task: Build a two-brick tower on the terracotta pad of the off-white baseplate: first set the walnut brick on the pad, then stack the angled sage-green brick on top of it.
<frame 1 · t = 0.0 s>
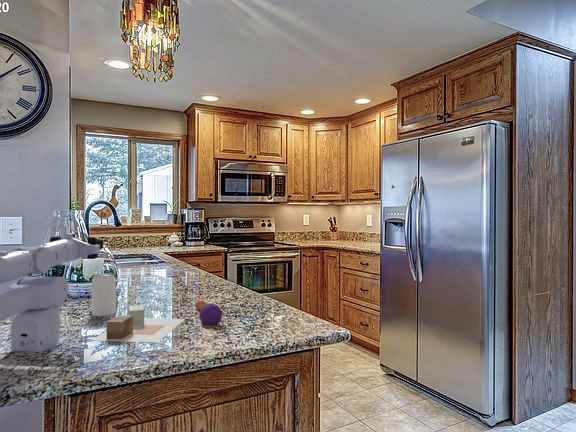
hand: (88, 243, 111), 22 cm above the counter, tool horizontal, fingers open, 7 cm apart
baseplate: (142, 331, 103), on the counter
kendama: (206, 320, 116), on the counter
walnut brick: (120, 335, 98), point 1 cm above the counter, touching baseplate
can: (103, 316, 119), on the counter
sage brick: (136, 322, 109), point 1 cm above the counter, touching baseplate
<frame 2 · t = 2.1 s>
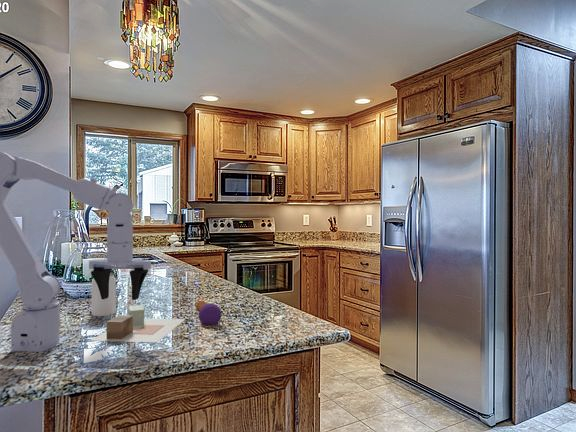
hand: (120, 298, 98), 9 cm above the counter, tool pointing down, fingers open, 7 cm apart
nothing on the counter moved.
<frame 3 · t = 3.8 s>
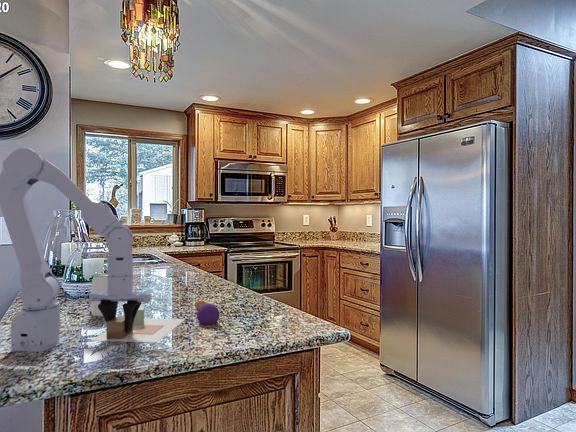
hand: (120, 331, 98), 2 cm above the counter, tool pointing down, fingers closed on walnut brick, 4 cm apart
walnut brick: (120, 335, 98), point 1 cm above the counter, touching baseplate, gripper
everything else where it was.
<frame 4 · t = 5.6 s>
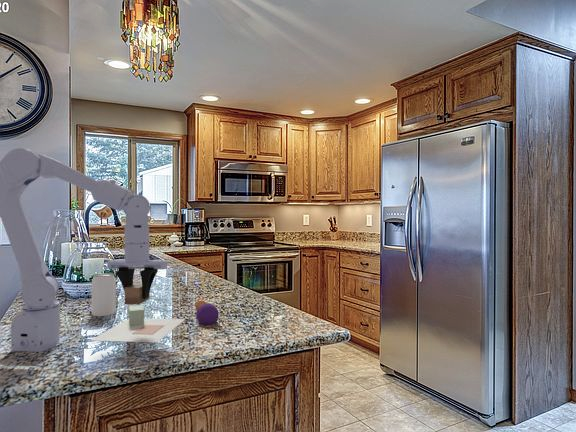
hand: (137, 297, 101), 9 cm above the counter, tool pointing down, fingers closed on walnut brick, 4 cm apart
walnut brick: (137, 301, 101), point 8 cm above the counter, touching gripper
everything else where it was.
when the fingers open (3 cm above the counter, at t = 7.3 s): walnut brick drops 1 cm, resting on baseplate.
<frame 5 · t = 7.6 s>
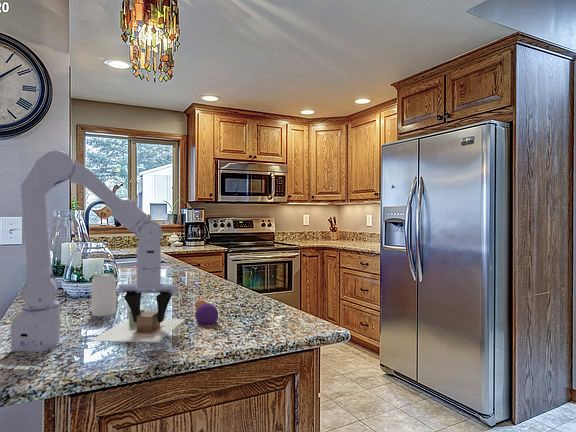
hand: (148, 321, 103), 3 cm above the counter, tool pointing down, fingers open, 6 cm apart
walnut brick: (148, 329, 103), point 1 cm above the counter, touching baseplate
everything else where it was.
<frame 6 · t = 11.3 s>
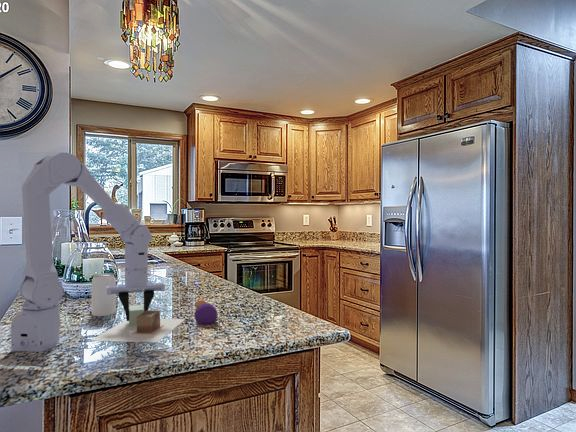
hand: (136, 319, 109), 2 cm above the counter, tool pointing down, fingers closed on sage brick, 4 cm apart
sage brick: (136, 322, 109), point 1 cm above the counter, touching baseplate, gripper
when the fingers open (7 cm above the counter, at t = 15.3 s): sage brick stays where it is, resting on walnut brick.
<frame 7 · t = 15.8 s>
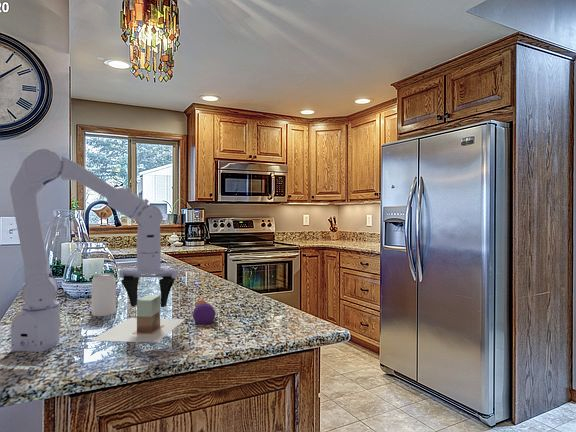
hand: (148, 306, 103), 7 cm above the counter, tool pointing down, fingers open, 7 cm apart
walnut brick: (148, 329, 103), point 1 cm above the counter, touching baseplate, sage brick
sage brick: (148, 313, 103), point 5 cm above the counter, touching walnut brick
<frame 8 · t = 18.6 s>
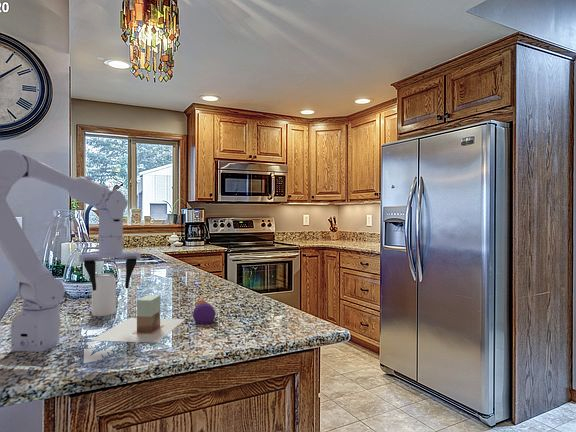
hand: (110, 288, 106), 10 cm above the counter, tool pointing down, fingers open, 7 cm apart
at the end: walnut brick 0.0 cm from the target spot on the baseplate, point 0.7 cm above the baseplate's base; sage brick 0.0 cm off-centre on the walnut brick, point 4.0 cm above the walnut brick's base; sage brick tilted 0° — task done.
